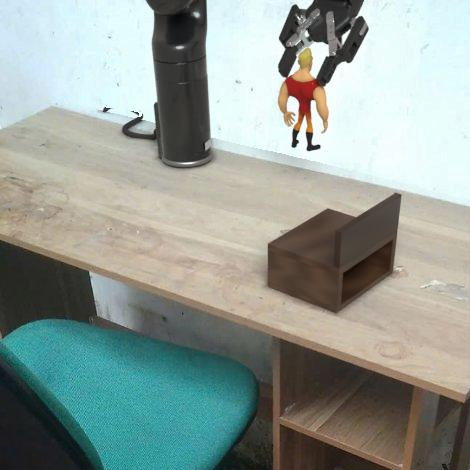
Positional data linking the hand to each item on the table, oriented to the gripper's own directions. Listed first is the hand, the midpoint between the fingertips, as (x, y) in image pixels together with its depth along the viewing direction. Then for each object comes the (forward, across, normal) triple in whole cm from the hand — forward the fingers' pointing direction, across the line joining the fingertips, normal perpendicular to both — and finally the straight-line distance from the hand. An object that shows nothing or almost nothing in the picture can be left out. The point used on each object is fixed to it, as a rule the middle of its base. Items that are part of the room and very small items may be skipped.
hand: (301, 78), depth 125 cm
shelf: (+28, +23, -4) cm, 37 cm away
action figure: (+7, 0, +9) cm, 11 cm away
